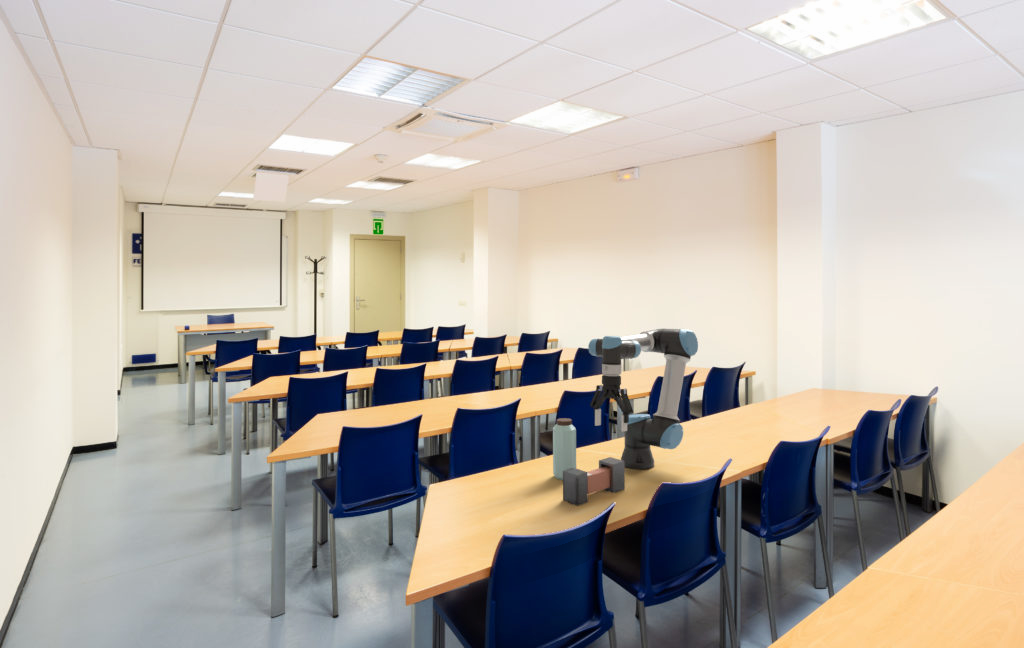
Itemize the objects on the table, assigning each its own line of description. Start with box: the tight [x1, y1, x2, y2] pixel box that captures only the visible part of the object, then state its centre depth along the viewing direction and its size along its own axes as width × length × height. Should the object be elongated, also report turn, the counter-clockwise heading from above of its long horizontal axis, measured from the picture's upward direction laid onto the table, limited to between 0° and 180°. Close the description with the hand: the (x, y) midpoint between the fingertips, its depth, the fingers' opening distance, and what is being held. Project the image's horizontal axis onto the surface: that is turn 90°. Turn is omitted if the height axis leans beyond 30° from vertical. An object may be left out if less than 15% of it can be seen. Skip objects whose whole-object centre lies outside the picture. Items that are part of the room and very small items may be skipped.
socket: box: [562, 467, 589, 506], centre depth 207 cm, size 6×7×12 cm
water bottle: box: [552, 417, 577, 481], centre depth 236 cm, size 10×10×25 cm
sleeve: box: [598, 456, 626, 494], centre depth 220 cm, size 7×7×12 cm
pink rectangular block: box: [586, 466, 611, 495], centre depth 216 cm, size 18×4×7 cm, turn 129°
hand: (610, 428), depth 217 cm, fingers open, 13 cm apart
